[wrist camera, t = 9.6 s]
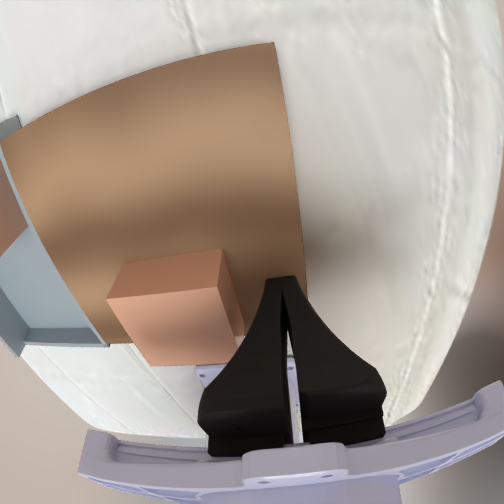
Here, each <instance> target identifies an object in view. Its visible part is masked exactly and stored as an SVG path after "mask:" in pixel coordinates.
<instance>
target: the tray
mask: <svg viewBox="0 0 504 504" xmlns="http://www.w3.org/2000/svg"><path fill="white" fill-rule="evenodd" d="M19 129H21V125H20V122H19V118H18V116H15V117H13V118H11V119H8V120H6V121H4V122H2V123H0V142H1V141H2V140H4V139H5V138H7V137H8V136H10V135H11V134H13V133H14V132H16V131H18V130H19ZM0 159H1V161H2V164H3V167H4V169H5V172H6V175H7V177H8V180H9V182H10V185H11V187H12V189H13V192H14V194H15V197H16V199H17V201H18V204H19V206H20V208H21V211H22V213H23V215H24V218H25V220H26V222H27V224H28V227H27V228H26V229H25V231H24V232H23V233H22V234H21V235H20V236H19V237H18V238H17V239H16V240H15V241H14V242H13V243H12V244H11V246H10V247H9V248H8V249H7V250H6V251H5V252H4V253H3V255H2V256H1V257H0V340H1V341H2V342H3V344H4V345H5V346H6V347H7V348H8V349H9V350H10V352H11V353H12V354H13V355H14V356H15V357H19V356H20V354H21V352H22V350H23V348H24V346H25V345H41V346H63V347H110V344H106V343H105V341H104V340H103V339H102V337H101V336H100V335H99V333H98V332H97V331H96V329H95V328H94V326H93V325H92V324H91V322H90V321H89V319H88V318H87V316H86V315H85V313H84V312H83V310H82V309H81V307H80V306H79V304H78V303H77V301H76V300H75V298H74V297H73V295H72V294H71V292H70V290H69V289H68V287H67V286H66V284H65V282H64V281H63V279H62V277H61V276H60V274H59V272H58V271H57V269H56V267H55V265H54V264H53V262H52V260H51V258H50V257H49V255H48V253H47V251H46V249H45V247H44V246H43V244H42V242H41V240H40V238H39V236H38V234H37V232H36V230H35V228H34V226H33V224H32V222H31V220H30V218H29V216H28V214H27V211H26V209H25V207H24V205H23V203H22V200H21V198H20V196H19V193H18V191H17V189H16V186H15V184H14V181H13V179H12V176H11V174H10V171H9V169H8V166H7V163H6V160H5V158H4V155H3V152H2V149H1V146H0Z"/></svg>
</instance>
